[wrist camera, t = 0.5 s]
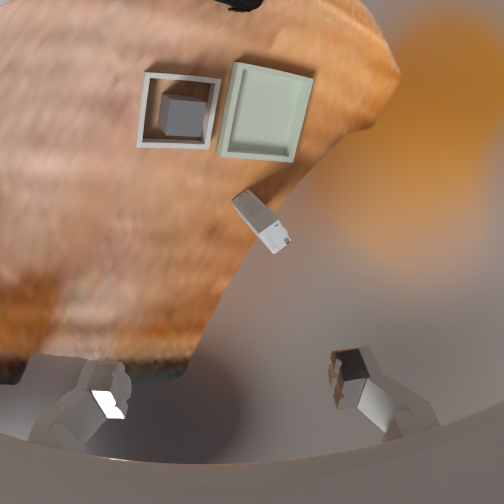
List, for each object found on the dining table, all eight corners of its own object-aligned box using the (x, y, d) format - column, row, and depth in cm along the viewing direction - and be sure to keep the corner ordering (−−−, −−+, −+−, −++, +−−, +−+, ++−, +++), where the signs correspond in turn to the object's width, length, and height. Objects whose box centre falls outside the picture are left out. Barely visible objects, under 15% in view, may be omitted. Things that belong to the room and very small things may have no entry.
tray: (233, 61, 45) (238, 62, 43) (306, 77, 51) (313, 79, 49) (215, 152, 54) (220, 157, 52) (286, 158, 60) (292, 162, 58)
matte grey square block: (161, 93, 44) (170, 99, 38) (192, 95, 46) (206, 102, 40) (157, 123, 47) (165, 135, 41) (188, 125, 49) (200, 136, 43)
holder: (143, 71, 41) (145, 72, 39) (216, 78, 46) (221, 79, 44) (135, 143, 47) (136, 147, 45) (204, 145, 52) (208, 149, 50)
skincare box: (229, 201, 60) (255, 234, 51) (248, 186, 60) (278, 217, 51) (245, 222, 64) (272, 257, 55) (263, 208, 64) (293, 240, 55)
